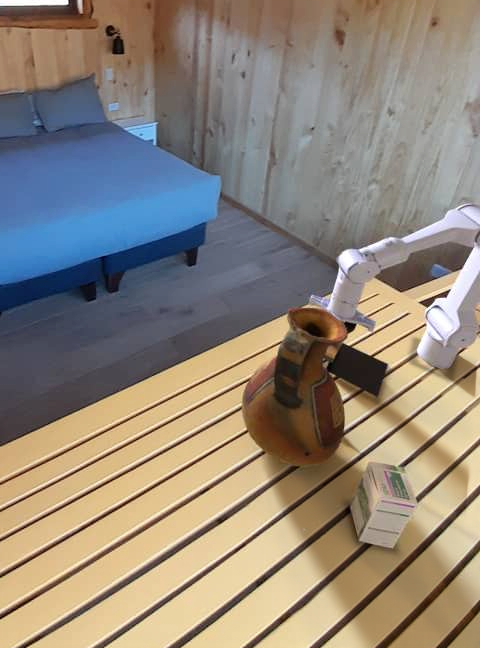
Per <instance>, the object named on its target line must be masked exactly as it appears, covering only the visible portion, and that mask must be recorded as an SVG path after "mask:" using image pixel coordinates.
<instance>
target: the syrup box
mask: <svg viewBox="0 0 480 648" xmlns="http://www.w3.org/2000/svg"><path fill="white" fill-rule="evenodd" d="M415 495H416V494H415V493H414V490H413V488H412V485H411V483H410V480H409V478H408V475H407V472H406V469H405V467H402V466H397V465H393V464H389V463H382V462H377V461H376V462H374V461H368V463H367V465H366V467H365V470H364V472H363V474H362V476H361V479H360V481H359V483H358V485H357V488H356V489H355V492H354V495H353V497H352V499H351V501H350V504H349V509H350V513H351V516H352V520H353V524H354V528H355V532H356V536H357V540H358V541H359V542H361V543H366V544H371V545H375V546H378V547H379V546H380V547H385V548H389V549H394V547H395V545H396V544H397V542H398V540H399V538H400V537H401V535H402V533H403V531H404V530H405V528H406V527H407V525H408V523H409V521H410V520H411V518H412V516H413V515H414V513H415V511H416V509H417V508H418V507H419V503H418V501H417V498H416V496H415Z"/></svg>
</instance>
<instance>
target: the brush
mask: <svg viewBox="0 0 480 648" xmlns="http://www.w3.org/2000/svg"><path fill="white" fill-rule="evenodd" d="M344 322H345V321H342V323H343V324H344ZM344 342H345V340H344V341H342V342H341V343H337V344H332V345H330V346H329V347H328V348H327V351H326V354H325V356H324V358H323V360H325V361H327V362H328V363H329V362H331V363H333V362H334V360H335V358H336V356H337V354H338V352H339V350H340V348H341V346H342V344H343V343H344Z"/></svg>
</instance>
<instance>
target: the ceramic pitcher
mask: <svg viewBox="0 0 480 648" xmlns="http://www.w3.org/2000/svg"><path fill="white" fill-rule="evenodd" d="M286 319H287V322H288V325H289V329H288V331H287V332H286V333H285V335H284V337H283V339H282V341H281V343H280V344H279V347H278V350H277V354H276V356H273V357H271V358H269V359H267V360H265V361H264V362H263V363H261V365H259V366H258V367H257V369H256V370H255V371H254V372H253V374H252V375H250V378H249V380H248V382H247V383H246V385H245V388H244V390H243V394H242V399H241V414H242V418H243V419H242V420H243V423H244V425H245V428H246V430H247V432H248V435H249V437H250V438H251V439H252V441H254V443H255V444H256V445H257V446H258V447H259V448H260V449H261V450H262V451H263V452H265V453H266V454H267V455H268V456H269V457H271V458H273V459H274V460H278V461H280V462H283V463H285V464H288V465H291V466H295V467H315V466H319V465H321V464H323V463H325V462H327V461H328V460H329V459H330V458H331V457H333V455H335V453H336V452H337V450H338V449H339V447H340V445H341V443H342V440H343V438H344V437H343V436H344V433H345V432H344V431H345V424H346V423H345V422H346V417H345V415H346V414H345V405H344V401H343V398H342V395H341V391H340V389H339V386H338V384H337V383H336V381H335V379H334V377H333V376H332V374H331V373H330V372H328V370H327V369H326V367H325V366H324V356H325V354H326V351H327V348H328V347H329V346H330V345H332V344H337V343H341V342H342V341H344V342H345V341H346V340H347V339H348V335H349V334H348V332H347V328H346V326H345V325H344V324H343V323H342V322H341V321H340V320H339V319H338V318H336V317H335V316H334V315H333V314H331V313H329V312H327V311H325V310H323V309H322V308H319V307H300V306H298V307H297V306H293V307H291V308H289V309H288V310H287V316H286Z"/></svg>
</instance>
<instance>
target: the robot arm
mask: <svg viewBox="0 0 480 648" xmlns="http://www.w3.org/2000/svg"><path fill="white" fill-rule="evenodd" d="M449 242H451V243H455V244H459V245H462V246H465V247H469V248H473V249H472V250H471V252H470V254H469V256H468V258H467V260H466V262H464V265H463V267H462V268H461V271H460V272H459V274H458V275H457V278H456V279H455V281H454V283H453V285H452V287H451V288H450V291H449V292H448V294H447V296H446V297H439V298H435V299H434V301H433V303H432V304H431V305H430V306H428V307H427V308H426V310H425V311H424V314H423V315H424V318H425V319H426V321H427V322H426V324H425V325H426V329H425V331H424V334H423V336H422V338H421V340H420V342H419V344H418V347H417V349H416V353H417V355H418V356H419V358H420V359H421V360H422V361H424V362H425V363H426V364H427V365H430V366H432V367H434V368H437V369H443V370H445V369H449V368H450V367H451V366H452V364H453V362H454V360H455V359H456V358H457V356H458V354H459V351H460V350H461V349H465V348H468V347H471V346H472V345H473V344H474V343H475V342H476V341H477V338H478V334H477V333H478V330H479V329H480V324H479V321H478V319H477V316H476V312H475V311H476V309H477V307H478V306H479V304H480V206H479V205H477V204H475V203H464V204H461V205H459V206H457V207H456V208H453V209H450V210H448V211H447V212H446V214H445V215H444V218H442V219H441V220H439V221H436V222H434V223H432V224H430V225H428V226H426V227H423V228H422V229H420V230H418V231H415V232H413V233H411V234H409V235H407V236H404V237H402V238H398V237H394V236H390V237H386V238H384V239H382V240H380V241H377V242H374V243H372V244H370V245H367V246H364V247H362V248H359V249H357V248H348V249H345V250H343V251H342V252H341V253H340V255H338V256H336V263H337V264H338V267H339V268H338V273H337V276H336V277H337V278H336V280H335V283H334V286H333V291H332V293H331V297H330V298H326V297H321V296H317V295H315V294H311V296H310V297H309V300H308V306H310V307H313V306H314V307H316V308H319V309H323V310H325V311H327V312H329V313H331V314H333V315H334V316H335V317H336V318H338V319H339V320H340V321H341V322H342V321H344V325H345V326H346V328H347V332H348V335H349V334H351V333H353V332H354V331H355V330H356V328H357V325H358V326H361V327H363V328H366V329H367V331H368V332H370V333H373V332H374V329H375V327H376V324H377V321H376V320H374V319H371V318H370V317H368V316H367V315H365V314H364V313H362V312H361V311H359V310H358V307H359V304H360V302H361V298H362V295H363V293H364V290H365V289H364V288H365V286H366V283H369V282H370V281H372V280H373V279H374V278H375V277H376V276H377V275H379V274H380V273H381V271H383V270H385V269H388V268H390V267H393V266H397V265H399V264H402V263H404V262H407V261H408V259H409V257H410V254H412V253H416V252H419V251H423V250H426V249H428V248H433V247H436V246H439V245H442V244H446V243H449Z"/></svg>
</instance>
